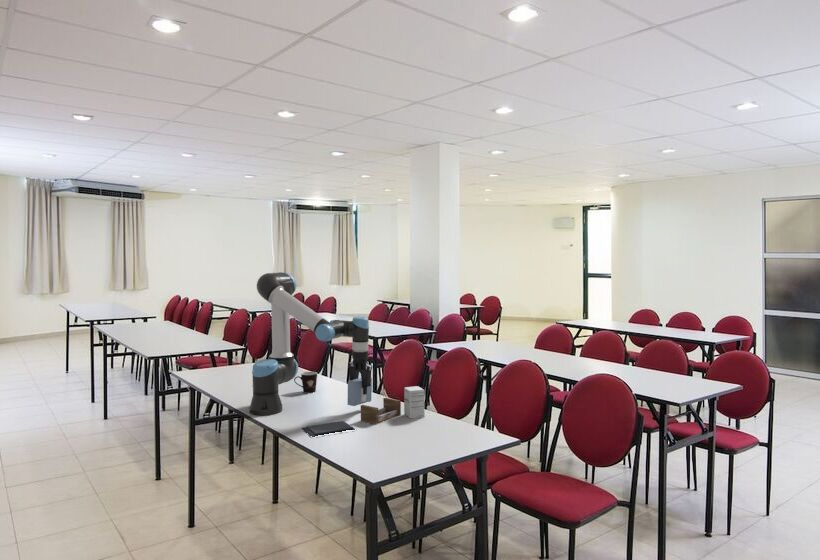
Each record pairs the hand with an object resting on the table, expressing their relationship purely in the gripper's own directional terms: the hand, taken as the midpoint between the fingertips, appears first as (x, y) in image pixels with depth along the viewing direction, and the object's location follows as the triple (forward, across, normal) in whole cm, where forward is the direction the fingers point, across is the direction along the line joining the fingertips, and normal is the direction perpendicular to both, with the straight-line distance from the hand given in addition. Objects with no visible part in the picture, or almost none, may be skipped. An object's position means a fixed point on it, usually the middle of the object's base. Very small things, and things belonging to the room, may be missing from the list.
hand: (359, 400), depth 260 cm
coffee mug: (+7, +49, -12) cm, 51 cm away
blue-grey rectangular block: (+1, 0, 0) cm, 1 cm away
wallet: (+6, -8, +27) cm, 29 cm away
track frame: (+5, -15, +2) cm, 16 cm away
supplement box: (+5, -25, -10) cm, 27 cm away
